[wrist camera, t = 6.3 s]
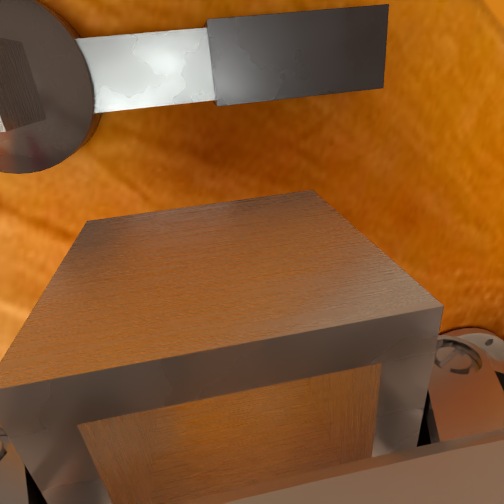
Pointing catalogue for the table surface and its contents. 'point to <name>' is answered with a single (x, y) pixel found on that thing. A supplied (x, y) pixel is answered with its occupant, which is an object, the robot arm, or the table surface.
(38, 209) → the table surface
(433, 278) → the table surface
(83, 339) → the socket
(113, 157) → the table surface
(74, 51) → the ratchet
